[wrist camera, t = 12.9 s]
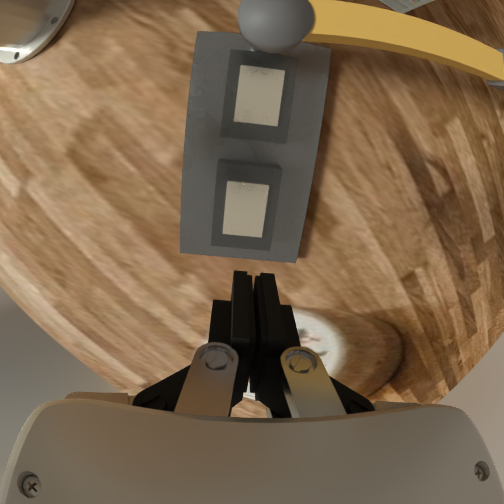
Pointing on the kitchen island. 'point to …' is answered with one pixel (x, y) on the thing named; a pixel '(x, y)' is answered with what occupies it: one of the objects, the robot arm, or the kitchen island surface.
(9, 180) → the kitchen island surface
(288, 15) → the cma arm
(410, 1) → the ink box
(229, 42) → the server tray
